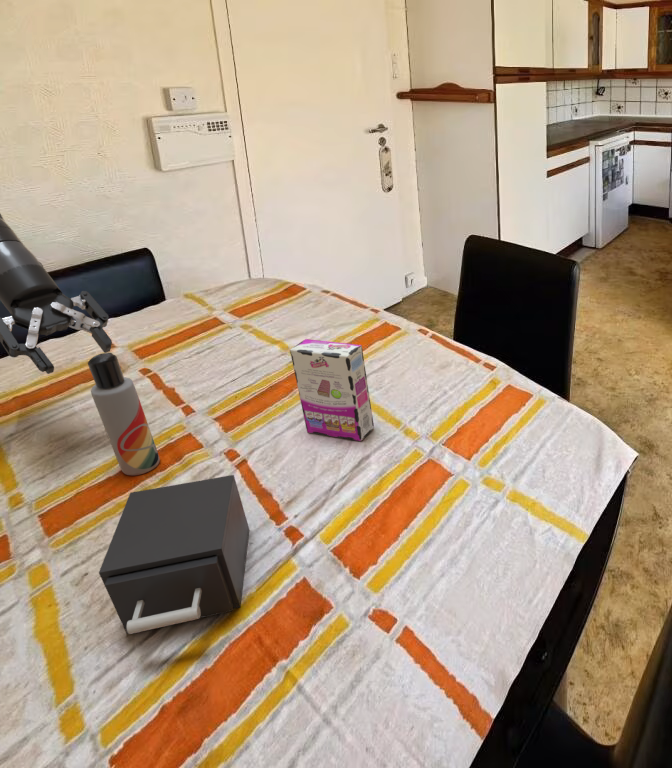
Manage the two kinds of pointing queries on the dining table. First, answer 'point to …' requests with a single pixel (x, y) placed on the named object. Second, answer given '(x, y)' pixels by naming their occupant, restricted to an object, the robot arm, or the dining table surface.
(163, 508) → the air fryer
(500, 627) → the dining table surface
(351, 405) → the candy bar box
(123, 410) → the lotion bottle
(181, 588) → the drawer
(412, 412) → the dining table surface
